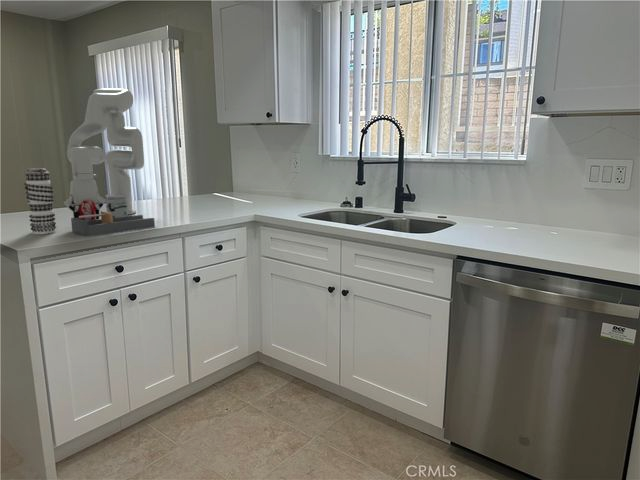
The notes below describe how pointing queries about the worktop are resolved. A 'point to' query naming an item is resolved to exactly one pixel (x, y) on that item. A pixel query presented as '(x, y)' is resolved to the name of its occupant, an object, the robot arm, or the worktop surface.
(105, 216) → the pusher
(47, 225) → the black white tall cylinder
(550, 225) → the worktop surface
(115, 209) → the ink box
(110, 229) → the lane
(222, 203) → the worktop surface
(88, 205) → the soda can
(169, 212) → the worktop surface
